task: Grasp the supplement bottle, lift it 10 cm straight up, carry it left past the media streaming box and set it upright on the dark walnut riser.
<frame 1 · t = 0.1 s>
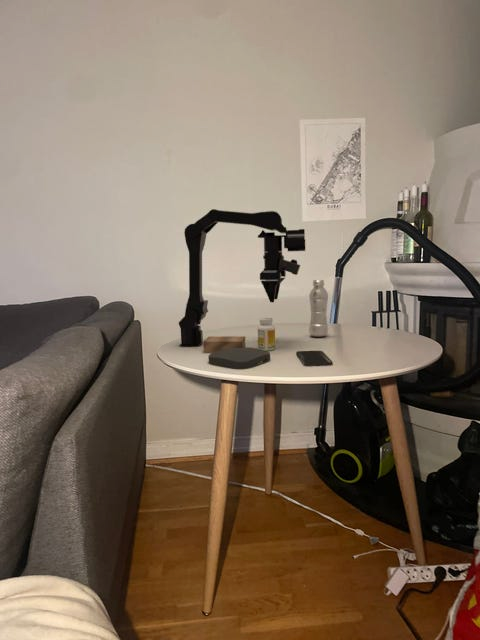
hand: (273, 300, 139), 14 cm above the table, fingers open, 9 cm apart
phone: (313, 361, 121), on the table
plastic bottle: (318, 337, 152), on the table
walnut riser: (225, 350, 135), on the table
media streaming box: (239, 363, 121), on the table
supplement bottle: (266, 349, 135), on the table
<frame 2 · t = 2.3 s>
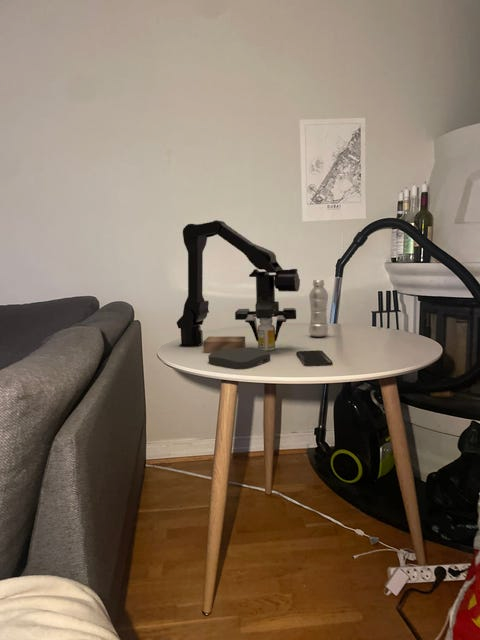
hand: (266, 341, 135), 3 cm above the table, fingers closed on supplement bottle, 5 cm apart
supplement bottle: (266, 349, 135), on the table, touching gripper
everything else where it was.
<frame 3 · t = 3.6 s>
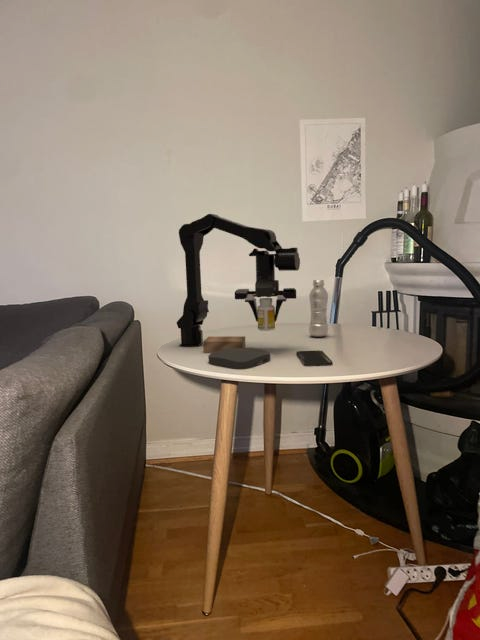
hand: (266, 321, 134), 9 cm above the table, fingers closed on supplement bottle, 5 cm apart
supplement bottle: (266, 330, 134), point 6 cm above the table, touching gripper
everything else where it was.
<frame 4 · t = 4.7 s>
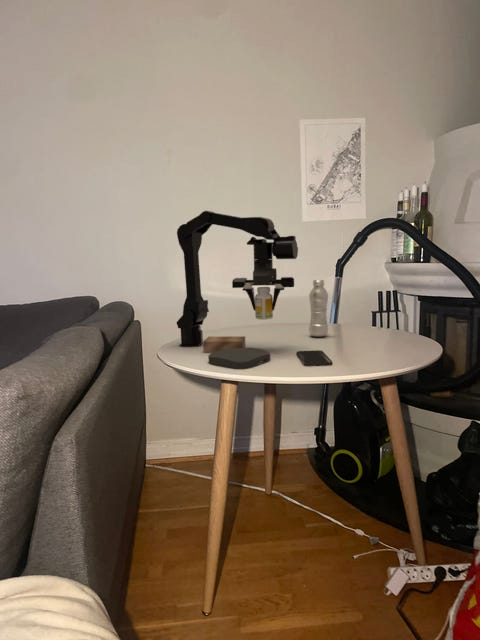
hand: (263, 310, 133), 12 cm above the table, fingers closed on supplement bottle, 5 cm apart
supplement bottle: (264, 319, 134), point 10 cm above the table, touching gripper
everything else where it was.
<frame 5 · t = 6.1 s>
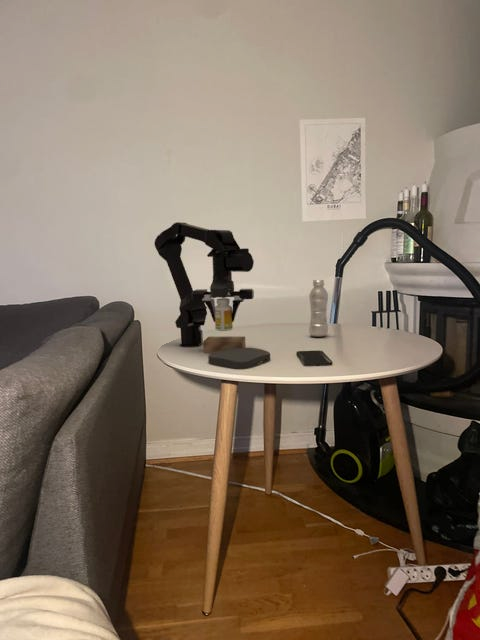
hand: (223, 321, 134), 9 cm above the table, fingers closed on supplement bottle, 5 cm apart
supplement bottle: (224, 330, 134), point 6 cm above the table, touching gripper
everything else where it was.
when the fingers open (8 cm above the table, at t = 7.1 s): supplement bottle drops 1 cm, resting on walnut riser.
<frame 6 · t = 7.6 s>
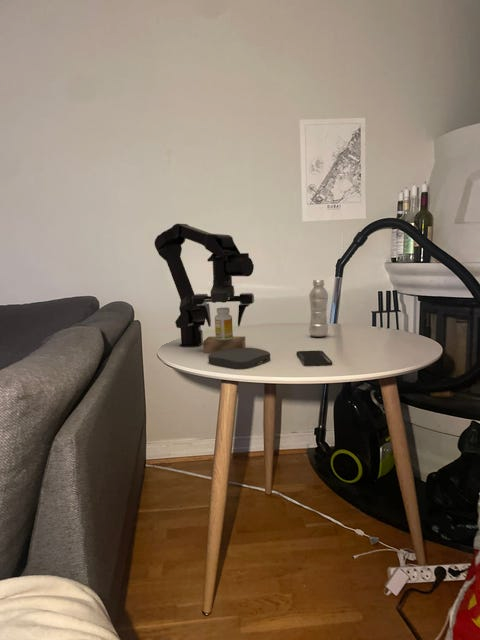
hand: (224, 326, 134), 8 cm above the table, fingers open, 9 cm apart
supplement bottle: (224, 339, 135), point 3 cm above the table, touching walnut riser
everything else where it was.
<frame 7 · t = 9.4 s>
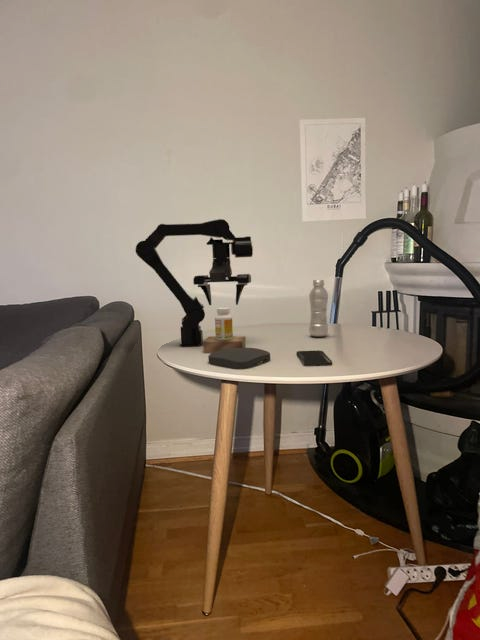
hand: (223, 305, 145), 13 cm above the table, fingers open, 9 cm apart
nothing on the table moved.
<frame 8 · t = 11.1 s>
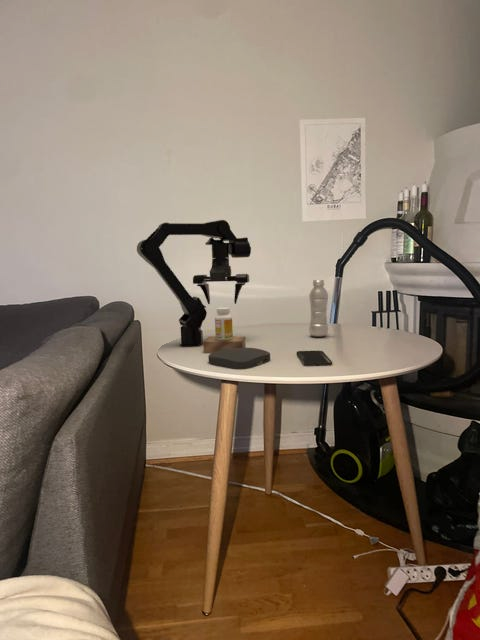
hand: (222, 304, 148), 13 cm above the table, fingers open, 9 cm apart
nothing on the table moved.
at the end: supplement bottle 0.1 cm off-centre on the walnut riser, point 3.4 cm above the walnut riser's base; supplement bottle tilted 0°; the gripper is holding nothing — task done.
